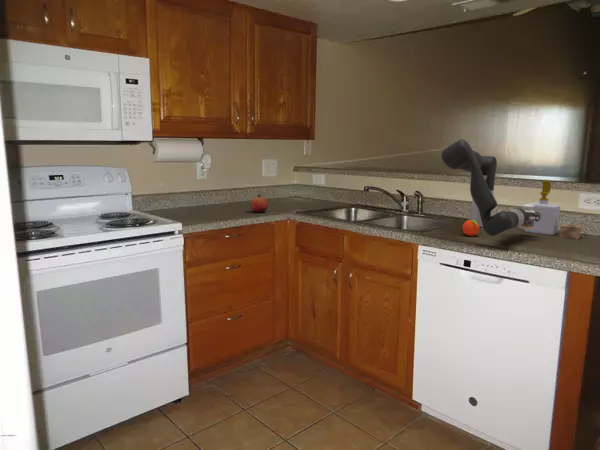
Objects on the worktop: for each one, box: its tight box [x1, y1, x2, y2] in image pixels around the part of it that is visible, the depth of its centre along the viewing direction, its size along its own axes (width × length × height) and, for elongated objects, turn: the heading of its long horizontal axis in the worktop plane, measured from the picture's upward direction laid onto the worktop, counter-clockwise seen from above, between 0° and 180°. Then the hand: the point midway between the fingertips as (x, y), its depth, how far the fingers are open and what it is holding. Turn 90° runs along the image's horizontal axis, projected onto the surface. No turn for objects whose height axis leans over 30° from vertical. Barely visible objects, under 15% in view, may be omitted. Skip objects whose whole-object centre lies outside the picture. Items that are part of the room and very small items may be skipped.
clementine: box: [462, 219, 480, 237], centre depth 192 cm, size 8×7×7 cm
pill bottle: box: [518, 204, 534, 230], centre depth 191 cm, size 6×6×10 cm
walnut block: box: [559, 223, 582, 240], centre depth 190 cm, size 7×7×5 cm
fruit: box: [250, 194, 269, 213], centre depth 255 cm, size 11×10×10 cm
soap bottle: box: [523, 179, 561, 236], centre depth 198 cm, size 12×7×23 cm, turn 45°
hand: (529, 213), depth 192 cm, fingers closed on pill bottle, 5 cm apart
